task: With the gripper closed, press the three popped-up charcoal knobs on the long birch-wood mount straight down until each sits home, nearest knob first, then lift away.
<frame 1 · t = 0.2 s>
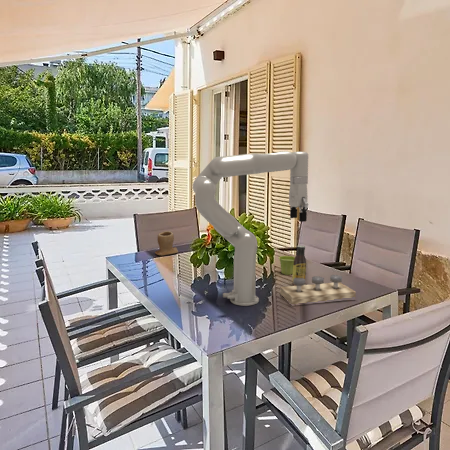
hand: (298, 219, 178), 36 cm above the table, tool pointing down, fingers open, 9 cm apart
near knob: (299, 286, 180), point 6 cm above the table, slide at 3.0 cm
plant pot: (287, 273, 219), on the table
stone cup: (167, 254, 261), on the table
sauce bottle: (298, 285, 200), on the table
knob mount: (317, 297, 183), on the table
far knob: (335, 282, 184), point 6 cm above the table, slide at 3.0 cm
middle knob: (317, 284, 182), point 6 cm above the table, slide at 3.0 cm
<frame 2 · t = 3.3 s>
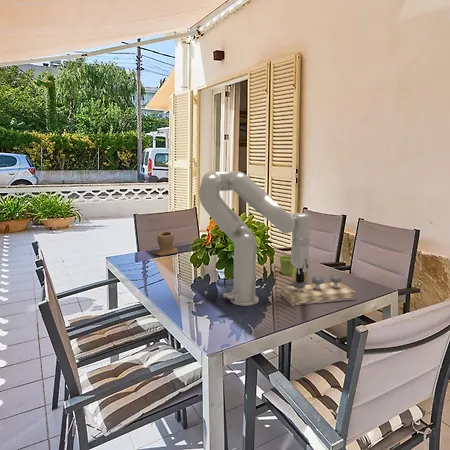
hand: (300, 281, 179), 8 cm above the table, tool pointing down, fingers closed
near knob: (298, 288, 180), point 5 cm above the table, slide at 1.9 cm, touching gripper
everything else where it was.
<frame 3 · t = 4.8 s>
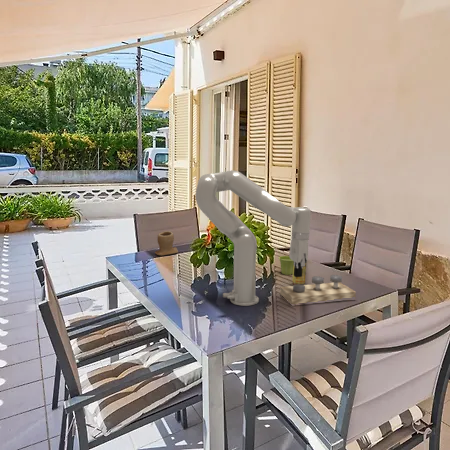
hand: (297, 276, 179), 11 cm above the table, tool pointing down, fingers closed
near knob: (298, 292, 180), point 3 cm above the table, slide at -0.1 cm
everything else where it was.
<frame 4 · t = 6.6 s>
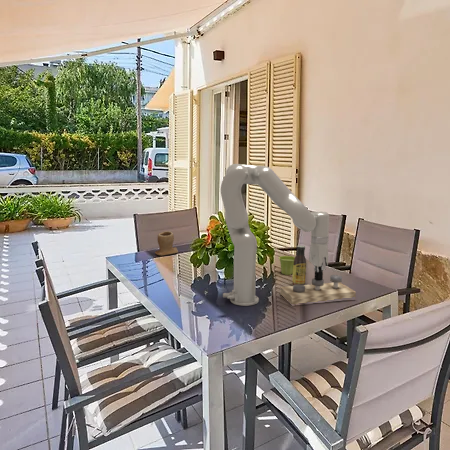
hand: (318, 279, 181), 8 cm above the table, tool pointing down, fingers closed
middle knob: (317, 286, 182), point 5 cm above the table, slide at 2.1 cm, touching gripper
everything else where it was.
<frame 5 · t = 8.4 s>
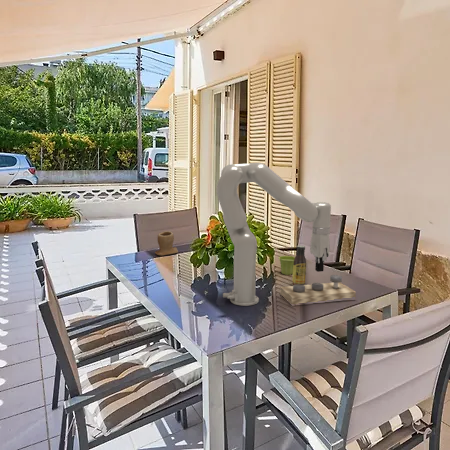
hand: (319, 270, 181), 13 cm above the table, tool pointing down, fingers closed
middle knob: (317, 291, 182), point 3 cm above the table, slide at -0.1 cm
everything else where it was.
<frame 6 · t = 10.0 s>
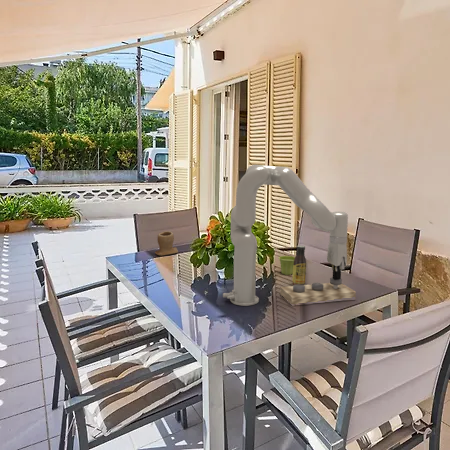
hand: (336, 279, 183), 8 cm above the table, tool pointing down, fingers closed
far knob: (335, 285, 184), point 5 cm above the table, slide at 1.8 cm, touching gripper
everything else where it was.
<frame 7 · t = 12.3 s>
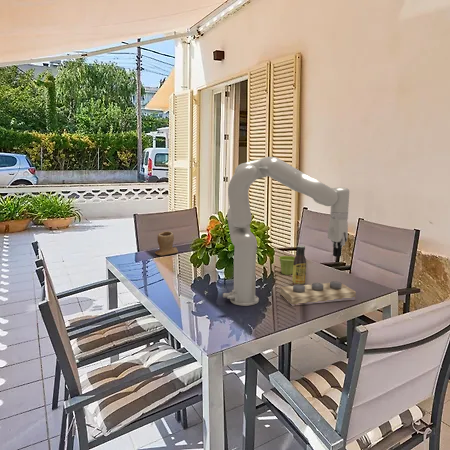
hand: (337, 255, 182), 19 cm above the table, tool pointing down, fingers closed
far knob: (335, 289, 184), point 3 cm above the table, slide at -0.1 cm
everything else where it was.
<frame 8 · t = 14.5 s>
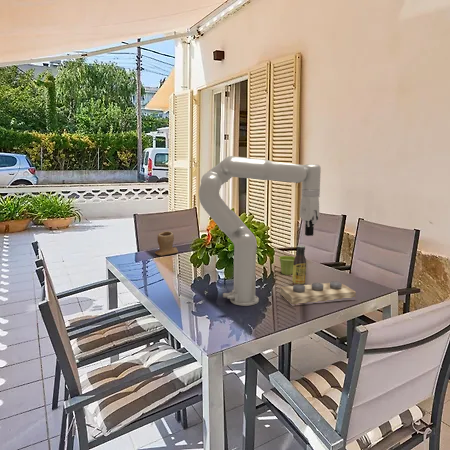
hand: (309, 235, 177), 29 cm above the table, tool pointing down, fingers closed
nothing on the table moved.
at the end: near knob slide at -0.1 cm; middle knob slide at -0.1 cm; far knob slide at -0.1 cm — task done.
